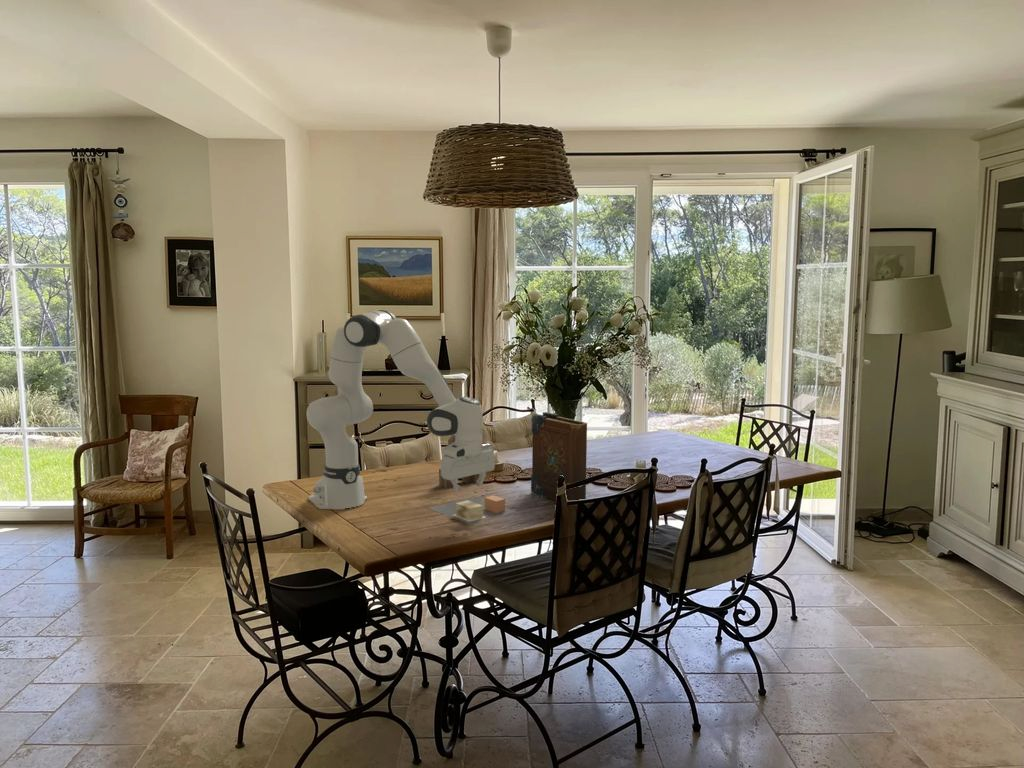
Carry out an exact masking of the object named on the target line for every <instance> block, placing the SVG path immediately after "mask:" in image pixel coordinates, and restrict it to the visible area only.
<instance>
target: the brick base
mask: <svg viewBox="0 0 1024 768" xmlns="http://www.w3.org/2000/svg"><path fill="white" fill-rule="evenodd" d="M456 515H457V516H460V517H463V518H465V519H468V520H470V521H472V520H475V519H479V518H483V506H482V505H480V504H477V503H474V502H471V501H468V500H467V501H463V502H459V503H456Z"/></svg>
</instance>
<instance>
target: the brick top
mask: <svg viewBox="0 0 1024 768" xmlns="http://www.w3.org/2000/svg"><path fill="white" fill-rule="evenodd" d="M484 501H485V509H487V510H489V511H492V512H495V513H498V512H502V511H505V508H506V498H503V497H500V496H497V495H488V496H485V497H484Z"/></svg>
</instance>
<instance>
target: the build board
mask: <svg viewBox="0 0 1024 768" xmlns="http://www.w3.org/2000/svg"><path fill="white" fill-rule="evenodd" d="M467 500H468V501H471V502H474V503H477V504H480V505H482V506H483V518H479V519H475V520H472V521H470V520H468V519H465V518H463V517H460V516H457V515H456V503H459V502H463V501H467ZM428 509H429V510H432V511H435V512H437V513H438V514H439V513H440V514H441V515H445V516H446V517H450V518H452V519H454V520H457V521H459V522H462V523H465V524H468V525H473V524H478V523H481V522H484V521H489V520H492V519H495V518H499V517H504V516H508V515H509V514H510V515H511V514H514V513H517V511H516V510H513V509H510V508H508V507H505V511H502V512H498V513H495V512H492V511H489V510H487V509H485V499H480V498H478V497H475V496H472V497H469V498H468V497H467V498H463V499H460V500H455V501H451V502H447V503H444V504H439V505H435V506H431V507H428Z"/></svg>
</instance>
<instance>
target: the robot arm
mask: <svg viewBox="0 0 1024 768" xmlns="http://www.w3.org/2000/svg"><path fill="white" fill-rule="evenodd" d="M379 344H382V345H384V346H385V348H386V349H387V351H388V352H389V355H390V356H391V359H392V361H393V362H394V364H395V366H396V367H397V369H398V370H399V371H400V372H401V374H402V375H404V376H406V377H408V378H412V379H415V380H417V381H420V382H421V383H423V384H424V385H425V386H426V387H427V389H428V390H429V392H430V393H431V395H432V396H433V398H434V399H435V401H436V403H437V404H438V407H436V408H434V409H432V410H431V411H430V412H429V413H428V415H427V417H426V425H427V428H428V430H429V431H430V433H432V434H433V435H435V436H438V437H445V436H446V437H447V436H452V435H455V441H454V442H453V443H451V444H450V445H448V444H447V445H446V446H444V447H443V448H442V449H441V450H442V451H441V452H442V453H441V454H442V455H443V456H442V457H441V460H440V461H441V462H440V469H441V476H442V478H444V479H446V480H451V482H452V484H453V485H454V488H453V492H456V493H457V492H460V491H461V485H459V484H458V482H459V479H462V477H466V476H471V475H476V474H479V475H480V476H479V478H478V480H476V483H475V485H476V486H477V487H482V486H483V484H484V480H485V478H486V476H487V473H488V472H493V471H494V470H495V467H496V466H495V465H496V463H495V454H494V446H493V445H492V444H491V443H486V444H483V434H482V429H483V406H482V405H481V404H482V403H481V402H480V401H479V400H478V399H476V398H473V397H469V396H462V397H457V396H456V395H455V393H454V391H453V389H452V387H450V385H449V383H448V382H447V380H446V378H445V377H444V376H443V373H441V371H440V369H439V368H438V367H437V365H436V363H435V362H434V361H433V359H432V357H431V356H430V355H429V353H428V351H427V348H426V347H425V345H424V343H423V342H422V339H421V338H420V336H419V335H418V333H417V331H416V330H415V329H414V327H413V326H412V325H411V323H410V322H409V321H408V320H407V319H406V318H400V317H398V318H397V317H396V315H394V313H392V312H391V311H388V310H384V309H383V310H382V309H381V310H370V311H366V312H364V313H361V314H356V315H355V314H354V315H353V316H351V317H349V319H347V321H346V322H345V323H344V325H342V326H340V327H339V328H337V330H336V331H335V334H334V337H333V341H332V345H331V351H330V356H329V357H330V358H329V367H328V378H329V380H330V382H331V383H332V384H334V385H335V386H336V387H337V395H332V396H331V395H330V396H326V397H321V398H319V399H316V400H314V401H311V402H310V403H309V404H308V405H307V409H306V412H305V413H306V420H307V422H308V425H310V427H312V428H313V429H315V430H316V431H317V432H318V433H319V434H320V436H321V439H322V440H323V444H324V450H325V451H324V452H325V465H323V476H322V477H321V478H319V479H318V481H317V482H315V484H314V487H313V494H310V495H309V496H308V498H307V499H308V500H309V501H310V502H311V503H312V504H313V505H314V506H315V505H316V506H317V507H318V508H319V509H318V508H317V507H316V506H315V507H316V508H317V509H318V510H344V509H343V508H350V509H352V508H351V507H355V508H357V507H356V506H358V507H360V506H359V505H361V506H362V504H363V503H365V501H367V500H368V496H367V495H365V489H364V478H363V477H362V476H360V474H361V467H360V464H359V448H358V447H359V445H358V442H357V441H356V439H354V438H353V437H351V436H349V435H348V433H347V430H346V429H347V428H346V427H347V426H353V425H356V424H357V425H358V424H360V423H363V422H364V421H366V420H368V419H370V418H371V416H372V414H373V412H374V404H373V401H372V399H371V398H370V396H369V395H367V394H366V392H365V391H364V387H363V382H362V379H363V378H362V375H363V374H362V373H363V365H364V358H365V357H364V356H365V351H366V350H365V349H366V347H370V346H376V345H379ZM366 499H367V500H366ZM363 505H364V504H363Z"/></svg>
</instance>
